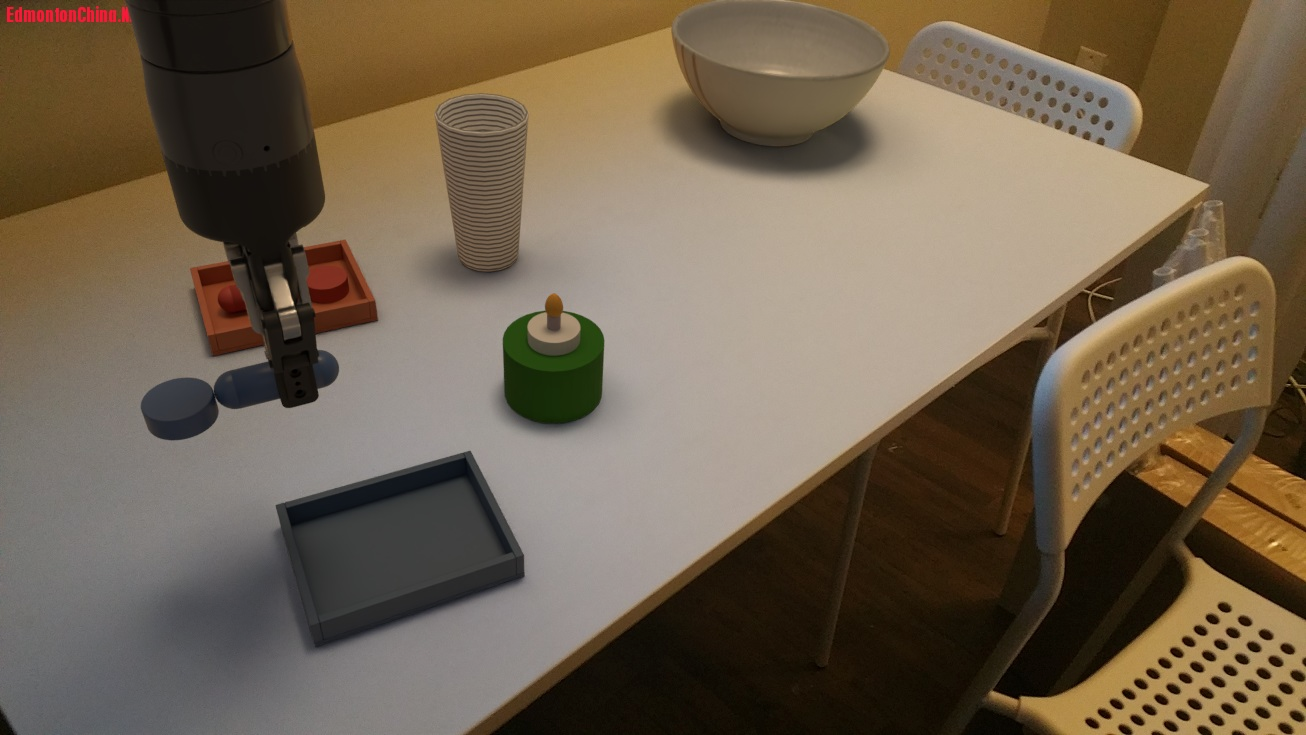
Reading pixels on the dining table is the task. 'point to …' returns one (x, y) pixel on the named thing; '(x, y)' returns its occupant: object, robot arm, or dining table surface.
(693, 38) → the decorative bowl
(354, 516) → the dark grey tray
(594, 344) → the candle
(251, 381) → the blue spoon
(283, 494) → the dining table surface
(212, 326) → the red tray
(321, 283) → the red spoon
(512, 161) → the cup
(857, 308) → the dining table surface
